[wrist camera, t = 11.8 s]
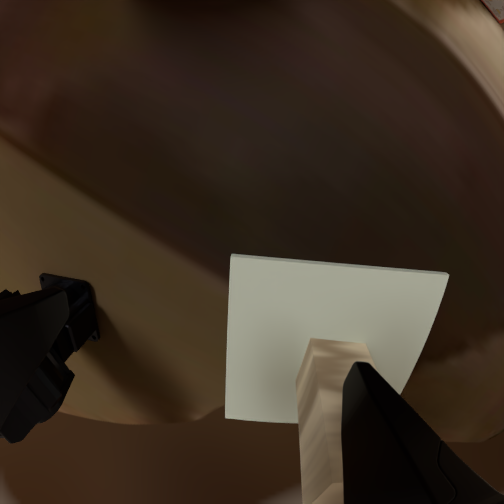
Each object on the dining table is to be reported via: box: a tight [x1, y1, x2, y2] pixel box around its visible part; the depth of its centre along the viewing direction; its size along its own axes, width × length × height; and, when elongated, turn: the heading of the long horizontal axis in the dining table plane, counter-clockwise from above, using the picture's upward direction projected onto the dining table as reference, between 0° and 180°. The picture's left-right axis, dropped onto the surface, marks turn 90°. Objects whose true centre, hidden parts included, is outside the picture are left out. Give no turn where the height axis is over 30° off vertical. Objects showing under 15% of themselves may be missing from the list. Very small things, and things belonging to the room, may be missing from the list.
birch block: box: [295, 338, 377, 504], centre depth 17 cm, size 5×5×13 cm
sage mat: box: [225, 254, 449, 423], centre depth 23 cm, size 18×18×1 cm
